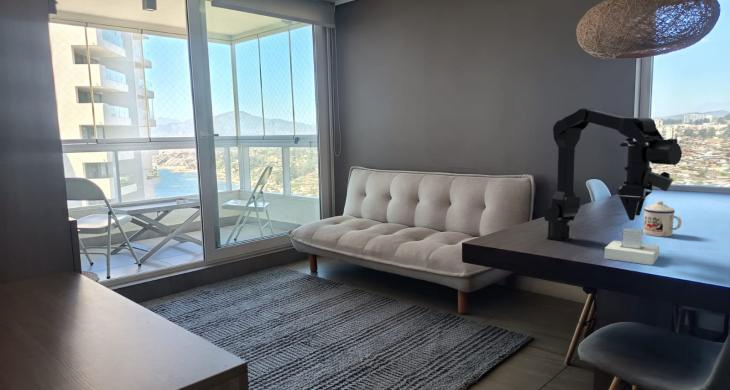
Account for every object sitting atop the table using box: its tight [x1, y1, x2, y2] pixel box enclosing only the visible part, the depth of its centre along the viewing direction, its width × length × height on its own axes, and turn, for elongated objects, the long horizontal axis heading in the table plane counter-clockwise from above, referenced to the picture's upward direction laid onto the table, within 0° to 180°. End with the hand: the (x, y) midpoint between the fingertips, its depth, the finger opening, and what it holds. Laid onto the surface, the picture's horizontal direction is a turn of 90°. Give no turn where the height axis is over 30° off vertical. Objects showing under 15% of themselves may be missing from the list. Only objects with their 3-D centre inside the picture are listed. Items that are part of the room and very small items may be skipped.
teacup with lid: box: [643, 200, 683, 238], centre depth 163 cm, size 12×9×12 cm
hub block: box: [603, 239, 660, 266], centre depth 136 cm, size 12×12×3 cm
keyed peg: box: [621, 227, 644, 250], centre depth 136 cm, size 3×5×8 cm
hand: (634, 217), depth 135 cm, fingers open, 9 cm apart
